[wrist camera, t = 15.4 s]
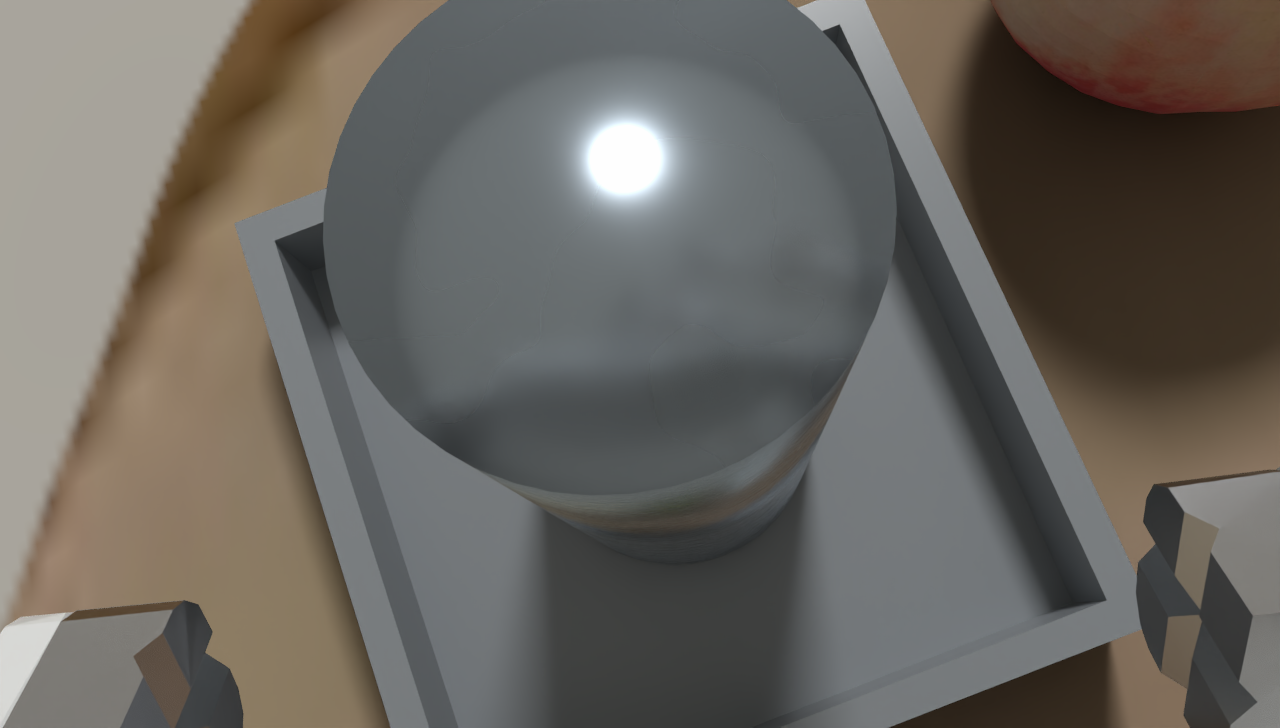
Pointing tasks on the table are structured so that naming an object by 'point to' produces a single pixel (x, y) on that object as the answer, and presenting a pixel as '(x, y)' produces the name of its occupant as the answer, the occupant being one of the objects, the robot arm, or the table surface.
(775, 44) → the canister
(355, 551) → the tray
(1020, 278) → the table surface
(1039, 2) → the fruit
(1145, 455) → the table surface
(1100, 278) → the table surface
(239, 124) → the table surface
